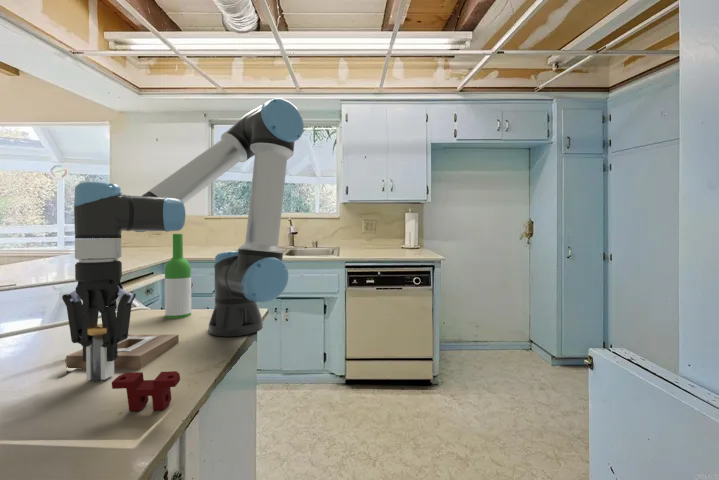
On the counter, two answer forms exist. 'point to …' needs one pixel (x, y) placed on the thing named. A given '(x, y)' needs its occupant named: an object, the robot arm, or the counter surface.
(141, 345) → the wooden square socket block
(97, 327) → the flanged metal peg
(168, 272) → the wine bottle
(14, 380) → the counter surface
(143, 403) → the bracket
